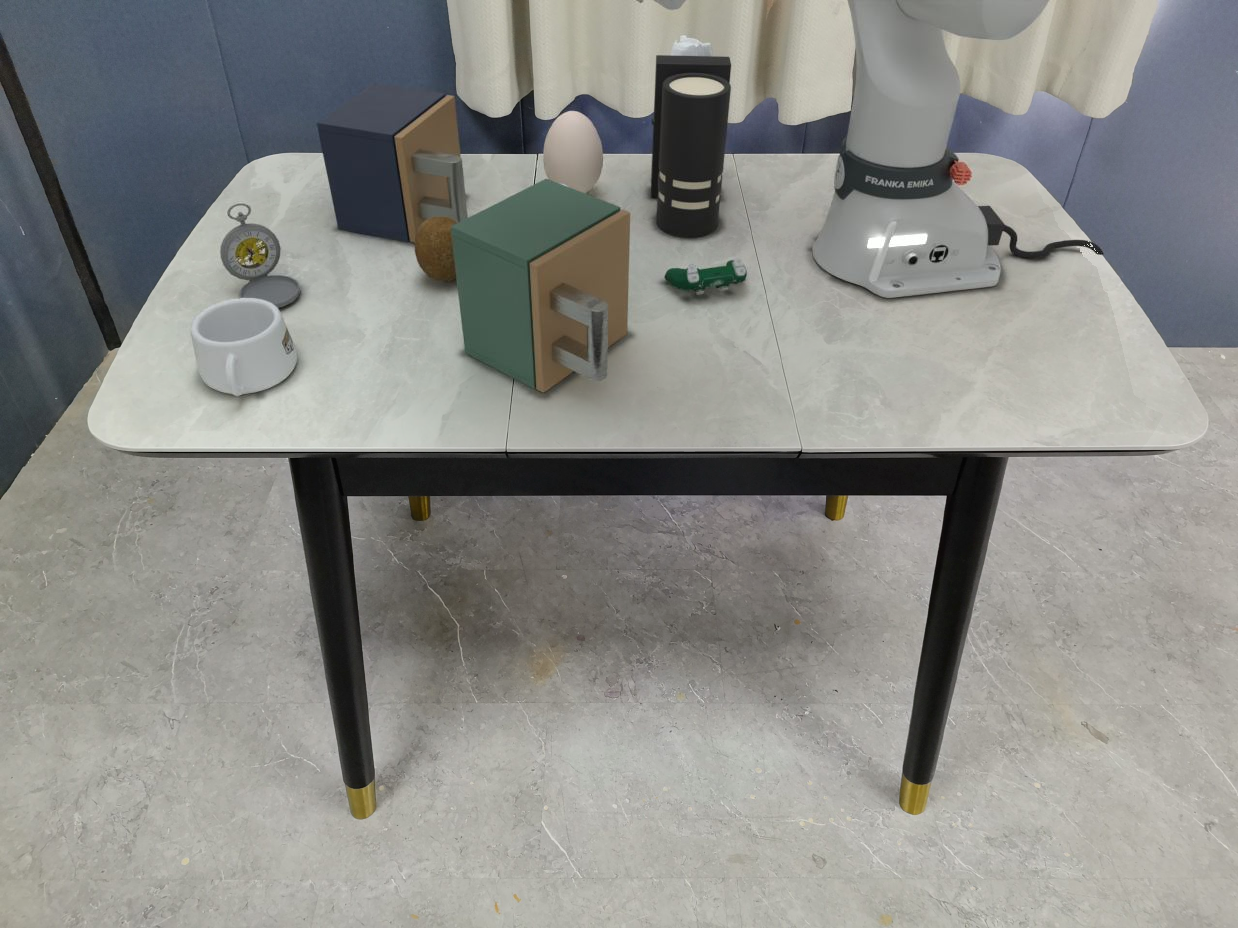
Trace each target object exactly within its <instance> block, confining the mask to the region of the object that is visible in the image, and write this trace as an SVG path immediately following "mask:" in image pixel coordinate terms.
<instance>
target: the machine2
mask: <svg viewBox="0 0 1238 928" xmlns="http://www.w3.org/2000/svg"><path fill="white" fill-rule="evenodd" d="M621 208H622V207H621V206H619V205H616V204H613V203H611V202H608V201H605V200H604V199H601V198H598V197H595V196H593V195H590V194H588V193H586V194H585V193H583V192H580V191H577V190H575V189H572V188H570V187H567V186H564V185H562V184H559V183H557V182H554V181H551V180H549V179H548V178H544V179H542V180H540V181H538V182H536V183H534V184H533V185H530V186H528V187H527V188H525V189H522V190H521V191H519V192H517V193H515V194H513V195H509V197H507V198H505V199H503V200H501V201H499V202H497V203H495V204H493V205H490V206H488V207H487V208H485V209H483V210H481V211H478V212H476V213H475V214H472V215H470V216H469V217H468V218H467V219H465V220H463V221H461V222H459V223H457V224H455V225H453V226H451V235H452V244H453V253H454V261H455V270H456V278H455V279H456V286H457V295H458V304H459V310H460V311H459V313H460V321H461V330H462V337H463V346H464V347H463V348H464V353H465V354H466V355H468V356H469V357H471V358H474V359H475V360H477V361H480V362H481V363H483V364H485V365H487V366H489V367H491V368H493V369H494V370H497V371H498V372H500V373H502V374H504V375H506V376H508V377H510V378H512V379H514V380H515V381H517V382H519V383H521V384H523V385H525V386H527V387H529V388H531V389H533V390H535V389H536V372H535V354H534V335H533V317H532V299H531V281H530V263H531V262H533V261H534V260H536V259H538V258H540V257H541V256H543V255H545V254H546V253H548V252H550V251H552V250H553V249H555V248H557V247H559V246H560V245H562V244H564V243H566V242H567V241H569V240H571V239H573V238H574V237H576V236H578V235H580V234H581V233H583V232H585V231H586V230H588V229H590V228H592V227H593V226H595V225H597V224H599V223H600V222H602V221H604V220H606V219H607V218H609V217H611V216H613V215H614V214H616V213H618V212H620V211H621V210H622V209H621ZM536 390H537V389H536Z"/></svg>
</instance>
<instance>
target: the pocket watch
mask: <svg viewBox="0 0 1238 928" xmlns="http://www.w3.org/2000/svg"><path fill="white" fill-rule="evenodd" d="M239 206H243V207H246V208H247V213H246V214H244V213H243V212H242V211H239V212H237V215H236V217H234V216H233V215H231V210H233V208H235V207H239ZM226 213H227V214H226V215H227V216H228V218H230V219H232V220H234V221H236V222H239V223H240V224H239V225H237V226H235V227H233V228H232V229H230V230H229V231H228V232H227V233H226V234H225V236H224V238H223V239H222V242H221V244H220V251H219V253H220V260H221V262H222V263H221V264H222V265H223V267H224V268H225V269H226V270H227V272H228V273H229V274H230V275H231V276H233V277H235V278H237V279H240V280H245V281H248V282H247V283H245V284H244V285H243V286H242V287H241V288H240V290H239V292H238V293H239V295H238V296H239V297H238V298H256V299H262V300H265V301H268V302H271V303H272V304H274V305H275V306H276V307H277V308H278V309H279V308H283V307H286V306H287V305H289V304H292V303H293V302H294V301H295V300H296V299H298V297H299V296H300V293H301V286H300V283H299V281H298V280H297V279H295V278H293V277H291V276H287V275H282V274H274V275H269V274H270V273H271V272H273V271H274V270H275V268H276V267H277V266H278V263H279V262H280V258H281V251H282V250H281V249H282V247H281V245H280V241H279V238H278V237H277V236H276V234H275V233H274V232H273V231H272V230H271V229H270V228H268V227H266V226H265V225H262V224H259V223H254V222H251V223H250V222H249V223H246V220H247V219H248V217H249V216H250V214H251V213H252V208H251V206H250V205H248V204H246V203H235V204H233V205H231V206H230V207H228V210H227V211H226ZM263 250H264V252H263V253H261V251H263ZM246 258H247V259H246ZM247 262H249V264H247ZM251 263H252V264H251Z"/></svg>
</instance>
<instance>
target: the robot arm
mask: <svg viewBox="0 0 1238 928" xmlns="http://www.w3.org/2000/svg"><path fill="white" fill-rule="evenodd" d="M644 1H645V0H636V2H638V3H640V4H642V3H644ZM653 1H654V2H655V3H657V4H659V5H660V6H662V7H663V8H665V9H667V10H671V11H673V10H680V8H681V7H682V6H683V5H684V4H685V2H686V1H687V0H653ZM1049 2H1050V0H847V3H848V8H849V12H850V17H851V22H852V23H851V24H852V29H853V36H854V37H853V38H854V42H855V43H854V44H855V45H854V46H855V59H856V68H855V71H856V73H855V74H856V75H855V85H854V92H853V98H852V105H851V109H850V110H851V111H850V117H849V123H848V128H847V135H846V136H845V137H844V139H843V140H842V142H841V147H840V150H839V155H838V157H837V160H836V167H835V173H834V179H833V188H834V193H833V196H832V200H831V203H830V205H829V209H828V212H827V215H826V218H825V220H824V223H823V225H822V228H821V230H820V232H819V234H818V236H817V238H816V240H815V242H814V243H813V246H812V256H813V258H814V261H815V262H816V263H817V264H818V265H819V266H820V267H821V268H822V269H823V270H824V271H825V272H827V273H829V274H830V275H832V276H834V277H835V278H838V279H840V280H843V281H846V282H847V283H848V282H849V283H852V284H854V285H857V286H861V287H863V288H865V289H867V290H868V291H870V292H872V293H873V294H875V295H877V296H879V297H881V298H884V299H885V298H887V299H893V298H902V297H903V298H904V297H910V296H920V295H929V294H938V293H945V292H955V291H964V290H971V289H972V290H973V289H981V288H989V287H995V286H997V284H998V282H999V281H1000V275H1001V272H1002V269H1001V268H1002V267H1001V263H1000V259H999V258H998V256H997V254H996V252H995V250H994V249H993V247H992V246H999V244H1000V241H1001V238H1002V235H1003V233H1006V234H1007V235H1008V236H1009V237H1010V239H1009V245H1008V246H1009V250H1010V252H1011V253H1012V254H1013V255H1014V256H1016V257H1019V258H1022V259H1038V258H1039V259H1040V258H1045V256H1048V255H1049V253H1050V252H1051V250H1054V249H1060V248H1068V247H1082V248H1087V249H1089V250H1091V251H1092V252H1093V253H1095V254H1096V255H1098V256H1103V255H1104V254H1105V253H1104V251H1103V250H1102V248H1101V247H1100V246H1099V245H1098V244H1096V243H1095V242H1093V241H1089V240H1085V239H1067V240H1066V239H1065V240H1061V241H1054V242H1050V243H1047V244H1046V245H1045V246H1044V248H1043V249H1042V250H1037V251H1026V250H1021V249H1020V248H1018V247H1017V244H1018V234H1017V232H1016V231H1015V229H1013V228H1012V227H1011V226H1009V225H1007V224H1005V223H1004V221H1003V220H1002V219H1001V218H1000V216H999V215H998V214H997V213H996V212H995V210H994V209H993V208H992V207H991V205H977V204H976V202H975V201H974V200H973V199H972V198H971V197H970V196H969V195H968V194H967V193H966V192H965V191H964V190H963V189H962V188H961V187H960V186H964V185H966V184H968V182H970V181H971V178H972V177H973V171H971V169H970V168H969V167H968V165H967V163H966V162H964V161H959V160H960V159H959V157H958V156H957V154H956V153H955V152H953V150H951V149H949V148H948V147H947V145H948V142H949V138H950V134H951V131H952V127H953V123H954V119H955V115H956V111H957V107H958V104H959V100H960V96H961V79H960V75H959V73H958V72H959V71H958V70H957V68H956V66H955V64H954V62H953V61H952V59H951V56H949V53H948V51H947V48H946V44H945V41H944V35H943V31H945V32H947V33H950V34H953V35H955V36H957V37H962V38H971V39H977V40H990V41H991V40H992V41H1004V40H1009V39H1012V38H1014V37H1016V36H1017V35H1019V34H1021V33H1022V32H1023V31H1024V30H1026V29H1028V27H1030V26H1031V25H1032V24H1033V23H1034V22H1035V21H1036V20H1037V19H1038V17H1039V16H1040V15H1041V14H1042V13H1043V11H1044V10H1045V8H1046V7H1047V5H1048V4H1049ZM1088 241H1089V242H1088ZM1090 243H1091V244H1092V245H1093V247H1090V246H1091V245H1090ZM1087 244H1088V245H1089V246H1088V245H1087ZM1084 245H1085V246H1084ZM1094 248H1095V250H1096V251H1095V250H1094ZM1097 252H1098V253H1097Z"/></svg>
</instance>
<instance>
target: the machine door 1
mask: <svg viewBox="0 0 1238 928" xmlns="http://www.w3.org/2000/svg"><path fill="white" fill-rule="evenodd" d="M457 117H458V116H457V107H456V98H455V95H449V94H447V95H446V97H444V98H443V99H442V100H441V101H439V102H438V103H437V104H435V105H434V106H433V107H432V108H430V109H429V110H428V111H427V112H425V113H424V114H423V115H421V116H420V117H419V118H418V119H416V120H415V121H414V122H412V123H411V124H410V125H409V126H407V127H406V128H405V129H404V130H402V131H401V132H400V133H398V134H397V135H396V136H395V137H394V138H395V144H396V151H397V158H398V164H399V171H400V178H401V184H402V191H403V198H404V204H405V211H406V218H407V224H408V231H409V238H410V241H409V242H410V243H414V242H415V235H416V233H417V230H418V229H419V227H420V226H421V224H422V223H423V222H424V221H425V220H427V219H429V218H433V217H440V216H442V217H448V218H451V219H453V220H454V221H455V222H456V223H459V222H461V221H463V220H465V219H467V218H469V217H468V216H469V215H468V206H467V196H466V187H465V176H464V167H463V158H462V157H461V146H460V137H459V128H458V127H459V125H458V118H457Z"/></svg>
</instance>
